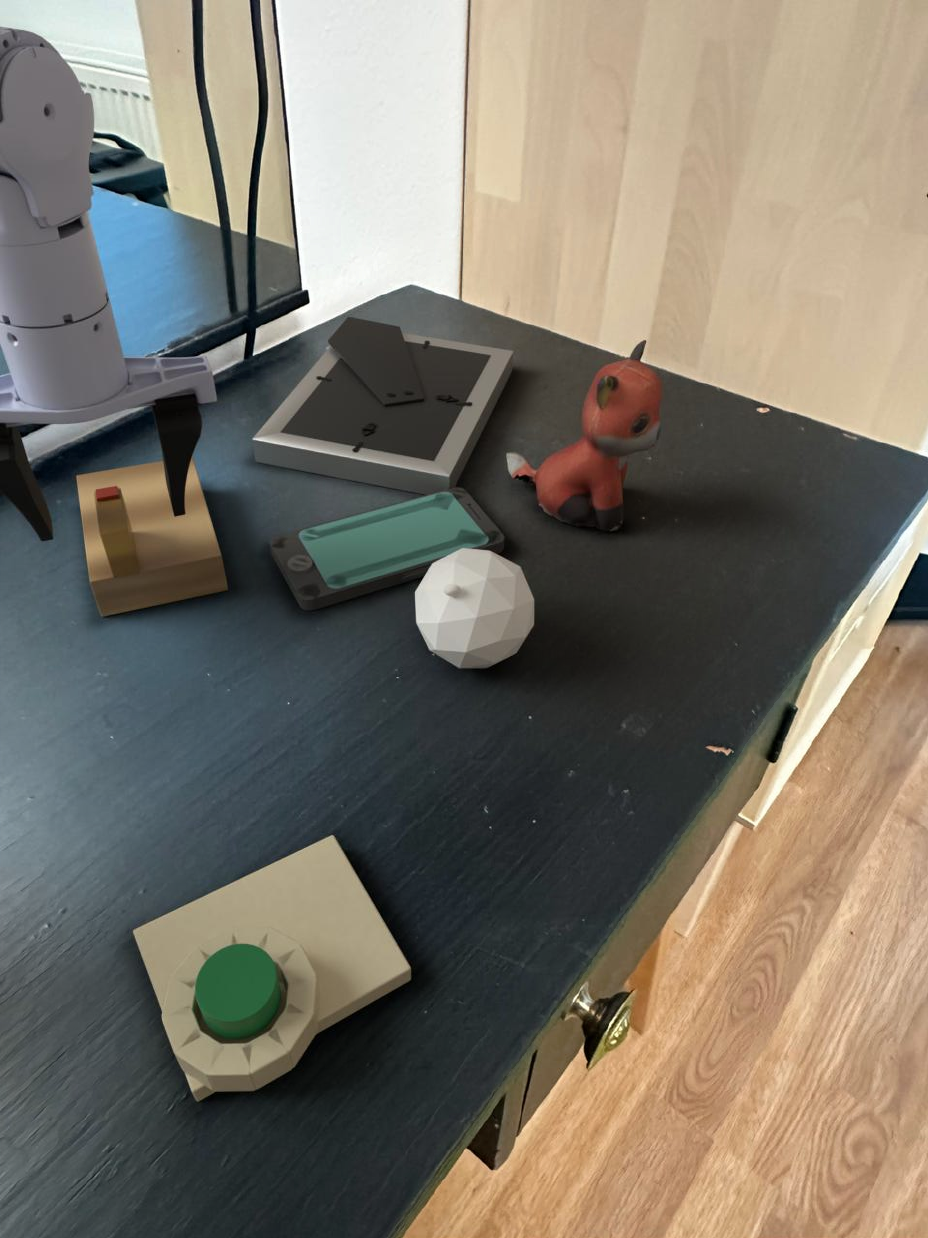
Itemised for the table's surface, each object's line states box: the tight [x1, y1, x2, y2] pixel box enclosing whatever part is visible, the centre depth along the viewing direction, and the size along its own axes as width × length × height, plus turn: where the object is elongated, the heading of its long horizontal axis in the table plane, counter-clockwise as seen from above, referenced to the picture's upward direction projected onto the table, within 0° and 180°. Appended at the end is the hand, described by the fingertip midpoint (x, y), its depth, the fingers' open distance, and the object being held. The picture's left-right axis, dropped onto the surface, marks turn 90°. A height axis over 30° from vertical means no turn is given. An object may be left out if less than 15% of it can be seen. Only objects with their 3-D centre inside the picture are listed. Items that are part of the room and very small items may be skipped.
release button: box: [195, 944, 281, 1040], centre depth 36 cm, size 3×3×2 cm
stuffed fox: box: [506, 339, 663, 532], centre depth 64 cm, size 8×11×12 cm
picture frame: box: [251, 316, 514, 496], centre depth 75 cm, size 16×3×21 cm
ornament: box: [414, 548, 535, 669], centre depth 53 cm, size 7×7×8 cm
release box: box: [132, 834, 412, 1102], centre depth 39 cm, size 10×9×3 cm
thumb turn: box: [94, 486, 140, 578], centre depth 55 cm, size 4×2×4 cm, turn 21°
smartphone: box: [269, 486, 505, 612], centre depth 62 cm, size 7×1×15 cm
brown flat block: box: [75, 456, 229, 618], centre depth 61 cm, size 12×8×3 cm, turn 21°
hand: (113, 518), depth 55 cm, fingers open, 7 cm apart
